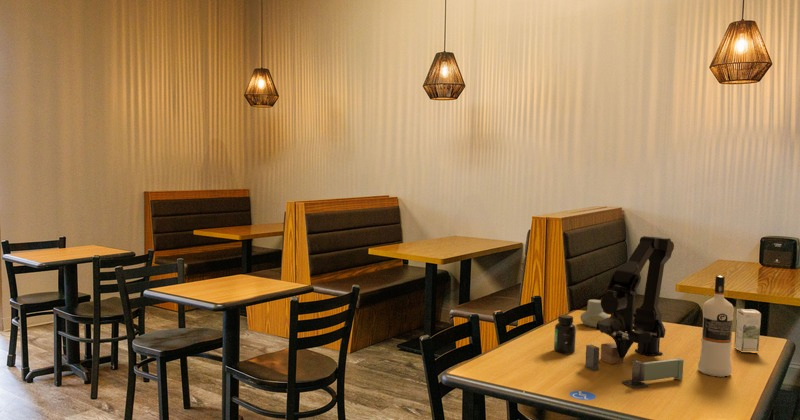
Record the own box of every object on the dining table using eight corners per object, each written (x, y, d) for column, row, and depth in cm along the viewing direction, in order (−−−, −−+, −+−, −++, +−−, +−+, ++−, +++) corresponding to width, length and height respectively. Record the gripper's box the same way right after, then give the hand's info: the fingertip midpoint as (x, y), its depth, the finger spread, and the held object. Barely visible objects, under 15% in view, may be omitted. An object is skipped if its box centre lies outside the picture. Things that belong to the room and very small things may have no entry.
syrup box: (750, 349, 220) (753, 308, 219) (758, 354, 214) (761, 312, 213) (733, 348, 220) (736, 307, 219) (741, 353, 214) (743, 311, 214)
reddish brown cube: (612, 357, 205) (613, 342, 205) (623, 362, 201) (624, 346, 200) (600, 359, 203) (601, 343, 203) (611, 363, 199) (611, 347, 199)
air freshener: (581, 327, 245) (582, 302, 244) (578, 322, 253) (580, 298, 252) (610, 329, 243) (611, 303, 242) (607, 324, 251) (608, 299, 251)
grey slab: (641, 384, 179) (642, 364, 179) (637, 382, 181) (638, 362, 180) (682, 379, 185) (683, 359, 185) (677, 377, 187) (678, 358, 186)
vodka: (728, 370, 195) (734, 274, 193) (734, 379, 187) (740, 279, 185) (695, 366, 198) (701, 272, 196) (700, 375, 189) (705, 277, 187)
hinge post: (635, 381, 183) (636, 357, 182) (648, 386, 178) (649, 362, 178) (622, 383, 181) (623, 359, 180) (634, 388, 176) (635, 364, 176)
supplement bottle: (552, 353, 209) (554, 317, 208) (555, 347, 215) (556, 313, 215) (573, 355, 207) (575, 319, 206) (575, 350, 213) (577, 315, 212)
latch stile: (591, 366, 195) (592, 344, 195) (599, 370, 192) (600, 347, 192) (585, 367, 195) (586, 345, 194) (592, 370, 191) (593, 348, 191)
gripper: (584, 304, 203) (582, 352, 204) (625, 317, 186) (623, 369, 186) (611, 302, 207) (609, 349, 208) (654, 314, 190) (651, 365, 191)
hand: (621, 357), depth 198 cm, fingers closed
